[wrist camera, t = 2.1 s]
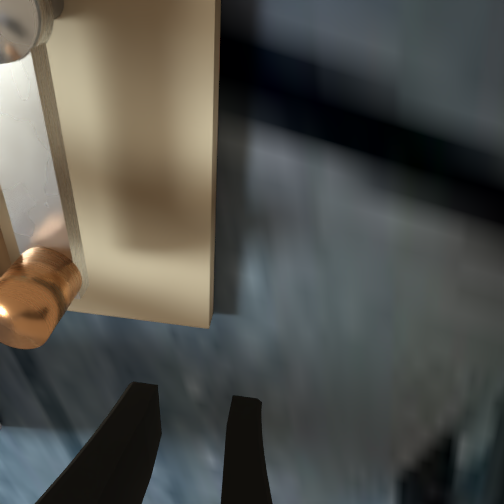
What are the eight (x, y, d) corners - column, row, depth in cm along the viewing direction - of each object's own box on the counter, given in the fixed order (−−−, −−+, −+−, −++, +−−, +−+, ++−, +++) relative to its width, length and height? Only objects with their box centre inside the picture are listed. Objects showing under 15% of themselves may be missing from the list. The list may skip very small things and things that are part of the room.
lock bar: (98, 286, 17) (57, 353, 14) (36, 278, 17) (-17, 343, 14) (43, -48, 11) (-48, -43, 8) (-54, -57, 11) (-176, -55, 8)
